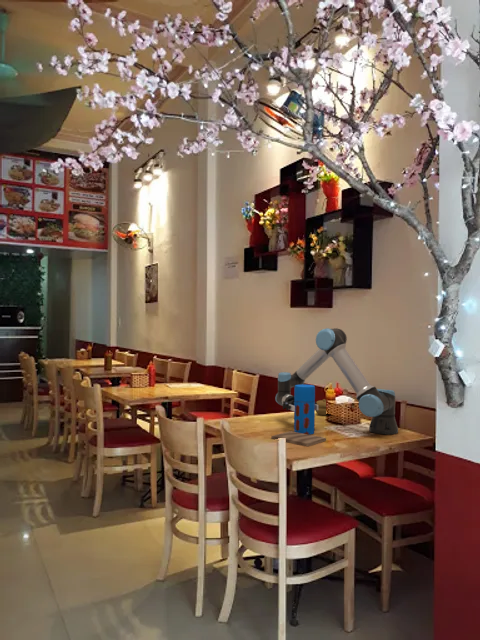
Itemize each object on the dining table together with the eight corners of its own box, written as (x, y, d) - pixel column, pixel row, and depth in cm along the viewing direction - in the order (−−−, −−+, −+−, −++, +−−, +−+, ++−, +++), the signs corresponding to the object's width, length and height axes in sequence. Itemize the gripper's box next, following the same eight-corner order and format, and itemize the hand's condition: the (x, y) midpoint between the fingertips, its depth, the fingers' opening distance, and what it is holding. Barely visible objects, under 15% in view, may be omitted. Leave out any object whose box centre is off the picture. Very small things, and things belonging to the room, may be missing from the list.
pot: (331, 413, 336) (331, 397, 336) (335, 416, 324) (335, 400, 324) (313, 413, 336) (313, 397, 336) (316, 416, 324) (316, 400, 324)
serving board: (325, 441, 259) (326, 438, 259) (307, 446, 248) (307, 443, 248) (290, 433, 274) (290, 431, 274) (271, 438, 263) (271, 435, 263)
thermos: (316, 434, 273) (316, 387, 273) (296, 434, 272) (296, 387, 272) (312, 430, 284) (312, 384, 284) (292, 430, 283) (293, 384, 283)
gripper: (310, 407, 300) (327, 414, 280) (269, 409, 292) (284, 416, 272) (310, 394, 300) (327, 400, 280) (270, 396, 292) (284, 402, 272)
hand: (306, 408), depth 276 cm, fingers open, 13 cm apart
